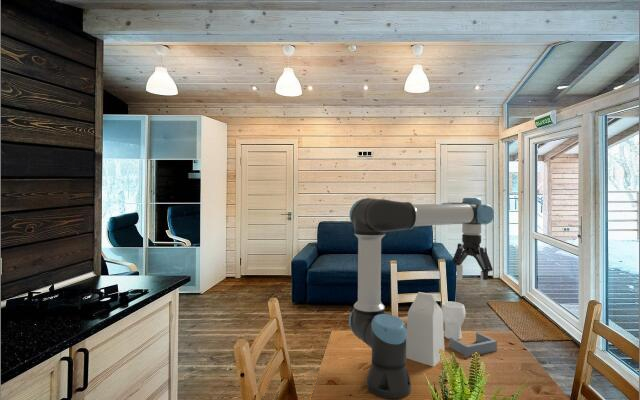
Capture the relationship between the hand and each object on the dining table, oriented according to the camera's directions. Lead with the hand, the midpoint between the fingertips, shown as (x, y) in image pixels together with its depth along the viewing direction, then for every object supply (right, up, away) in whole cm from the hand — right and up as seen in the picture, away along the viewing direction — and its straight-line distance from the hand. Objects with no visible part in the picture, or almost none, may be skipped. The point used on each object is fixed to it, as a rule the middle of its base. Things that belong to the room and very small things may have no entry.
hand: (471, 283), depth 155 cm
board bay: (+1, -28, 0) cm, 28 cm away
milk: (-22, -29, -7) cm, 37 cm away
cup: (-3, -28, +13) cm, 31 cm away
